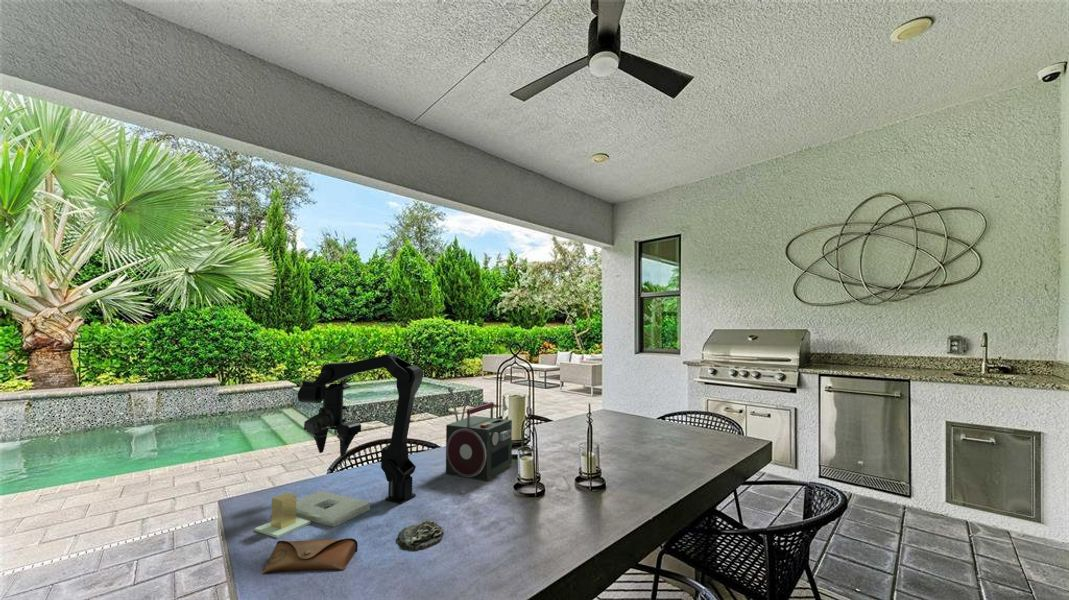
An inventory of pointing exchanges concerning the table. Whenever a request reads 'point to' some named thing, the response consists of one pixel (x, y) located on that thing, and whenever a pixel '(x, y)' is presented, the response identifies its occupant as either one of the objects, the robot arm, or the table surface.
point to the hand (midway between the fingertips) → (331, 454)
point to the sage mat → (278, 532)
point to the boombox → (478, 444)
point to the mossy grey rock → (420, 536)
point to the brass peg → (283, 510)
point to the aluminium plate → (330, 508)
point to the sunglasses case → (311, 555)
